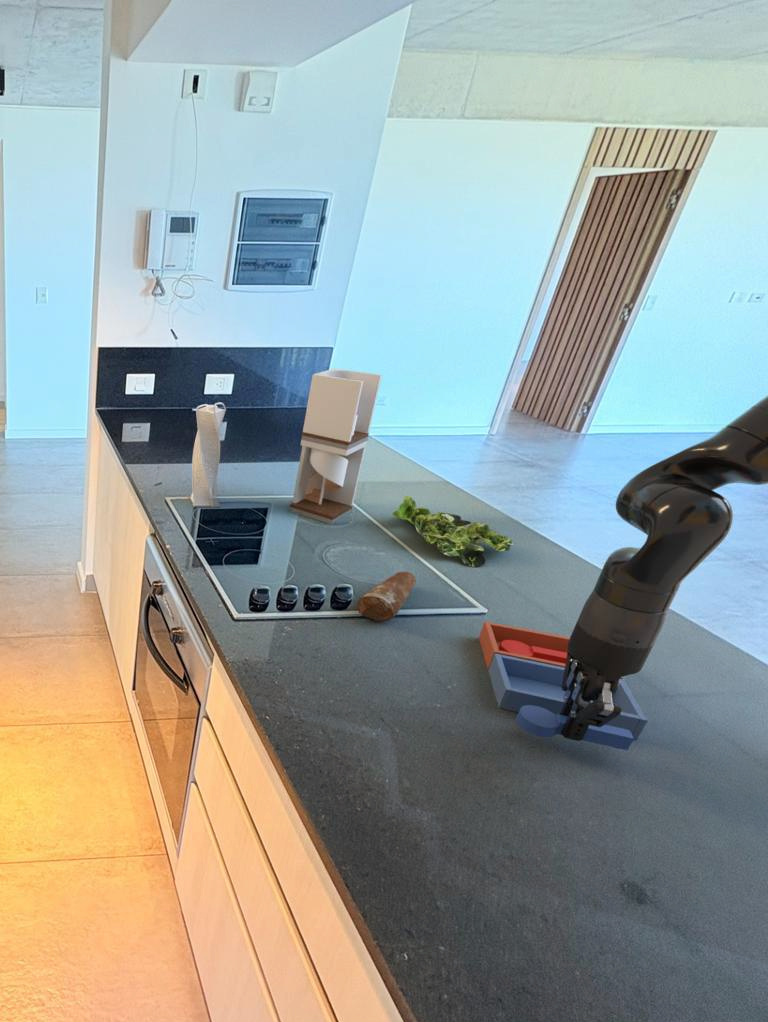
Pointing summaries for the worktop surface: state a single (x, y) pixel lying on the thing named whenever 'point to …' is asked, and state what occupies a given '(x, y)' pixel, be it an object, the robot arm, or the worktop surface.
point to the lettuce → (453, 533)
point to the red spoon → (532, 651)
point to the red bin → (498, 633)
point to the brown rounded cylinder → (387, 597)
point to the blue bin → (552, 690)
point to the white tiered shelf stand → (334, 442)
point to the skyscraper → (206, 456)
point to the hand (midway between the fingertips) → (568, 731)
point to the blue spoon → (551, 724)
